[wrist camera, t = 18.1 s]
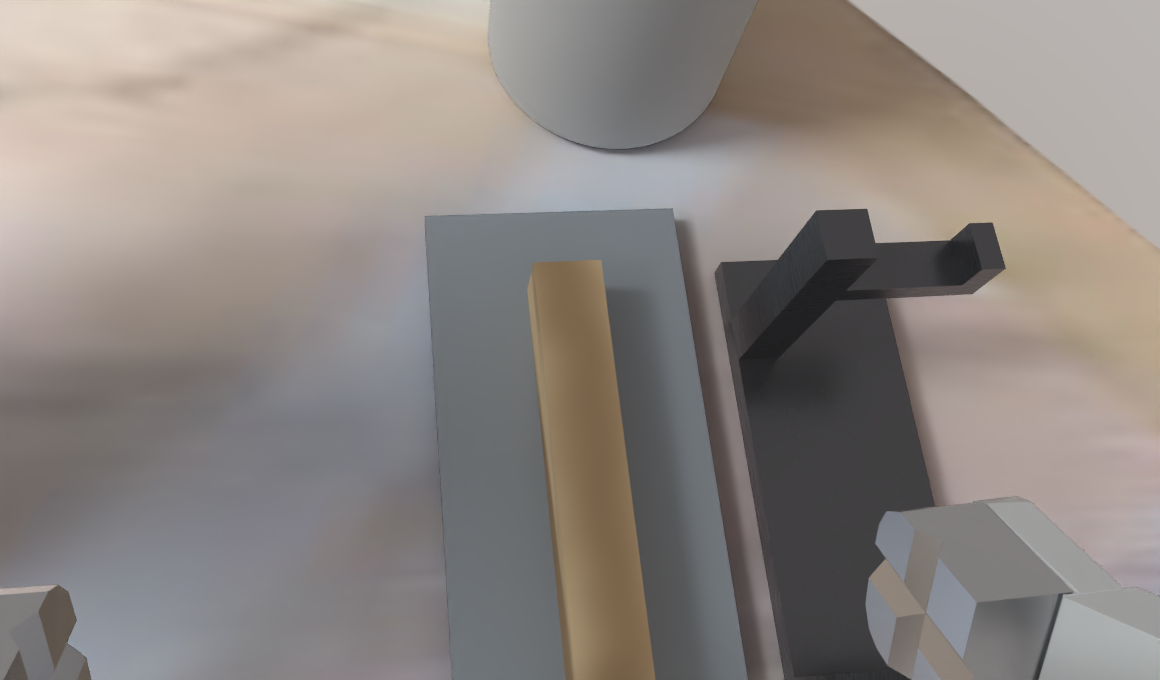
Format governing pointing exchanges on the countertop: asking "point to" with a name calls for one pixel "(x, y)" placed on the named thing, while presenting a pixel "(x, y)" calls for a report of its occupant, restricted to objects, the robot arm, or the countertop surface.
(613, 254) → the rubber mat
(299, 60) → the countertop surface
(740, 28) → the cylinder vase
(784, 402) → the hook stand
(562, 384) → the oak rail
